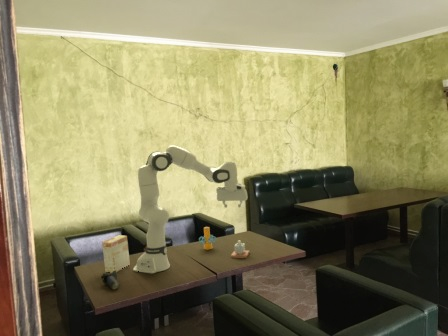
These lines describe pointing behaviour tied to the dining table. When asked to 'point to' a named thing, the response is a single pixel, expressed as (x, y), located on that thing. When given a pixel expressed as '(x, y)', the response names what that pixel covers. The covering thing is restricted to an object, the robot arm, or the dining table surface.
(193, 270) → the dining table surface
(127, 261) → the coffeecake box
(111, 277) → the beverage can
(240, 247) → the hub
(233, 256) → the shaft block
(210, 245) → the orange vase with loops
